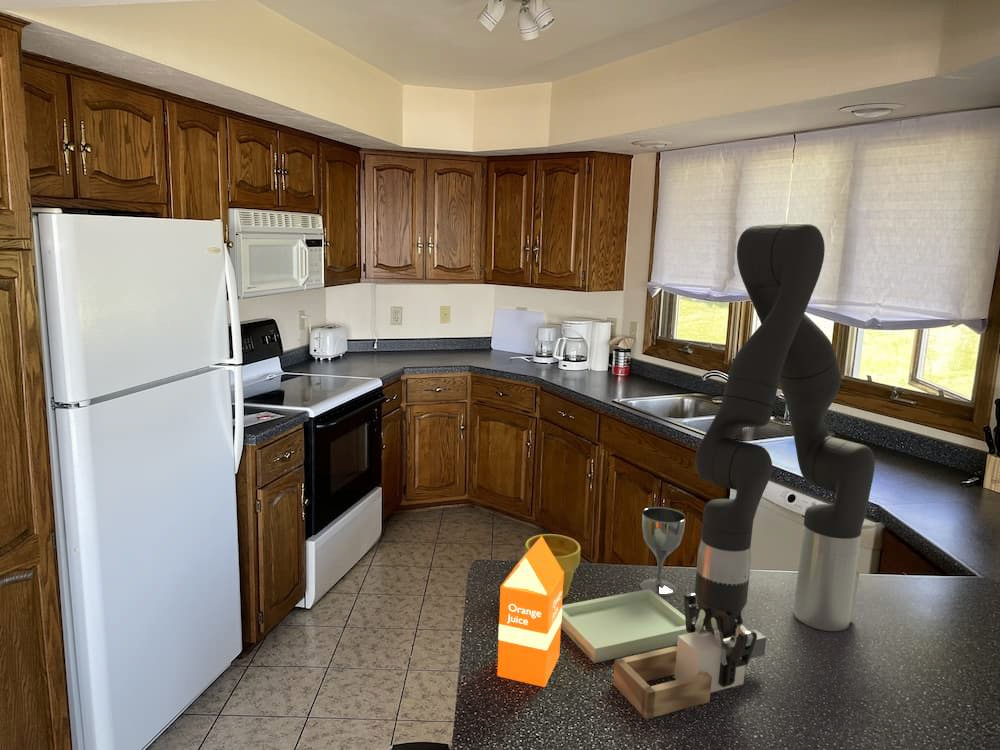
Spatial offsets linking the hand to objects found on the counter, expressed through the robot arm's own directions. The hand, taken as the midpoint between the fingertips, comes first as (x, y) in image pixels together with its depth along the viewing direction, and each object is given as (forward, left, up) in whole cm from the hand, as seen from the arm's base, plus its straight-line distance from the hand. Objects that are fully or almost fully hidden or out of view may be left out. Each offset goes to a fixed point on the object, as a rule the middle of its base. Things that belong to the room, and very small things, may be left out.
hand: (712, 673), depth 108 cm
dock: (+9, 0, -1) cm, 9 cm away
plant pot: (+11, -33, -1) cm, 35 cm away
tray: (+5, -17, -1) cm, 18 cm away
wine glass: (-10, -28, -1) cm, 30 cm away
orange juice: (+25, -13, -1) cm, 28 cm away
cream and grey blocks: (-2, 0, -1) cm, 2 cm away
